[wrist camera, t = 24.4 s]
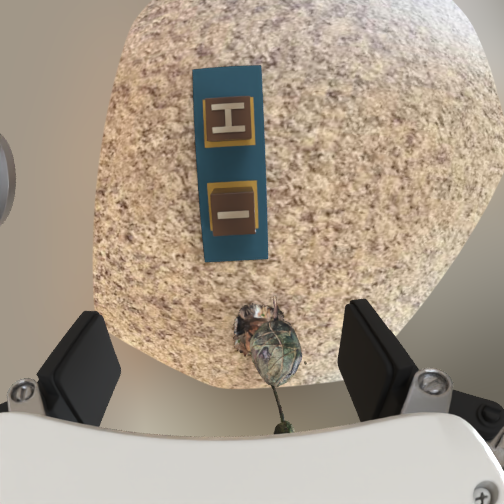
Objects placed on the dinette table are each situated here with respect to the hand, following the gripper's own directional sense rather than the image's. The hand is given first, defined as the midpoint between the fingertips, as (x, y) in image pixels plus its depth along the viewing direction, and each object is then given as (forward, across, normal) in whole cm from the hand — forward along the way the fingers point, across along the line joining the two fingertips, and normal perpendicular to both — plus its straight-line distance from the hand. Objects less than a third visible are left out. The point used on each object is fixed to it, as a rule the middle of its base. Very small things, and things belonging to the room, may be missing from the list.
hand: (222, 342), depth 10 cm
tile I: (+26, 0, 0) cm, 26 cm away
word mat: (+26, 0, -5) cm, 27 cm away
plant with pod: (+26, -3, +17) cm, 32 cm away
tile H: (+26, 0, -10) cm, 28 cm away
